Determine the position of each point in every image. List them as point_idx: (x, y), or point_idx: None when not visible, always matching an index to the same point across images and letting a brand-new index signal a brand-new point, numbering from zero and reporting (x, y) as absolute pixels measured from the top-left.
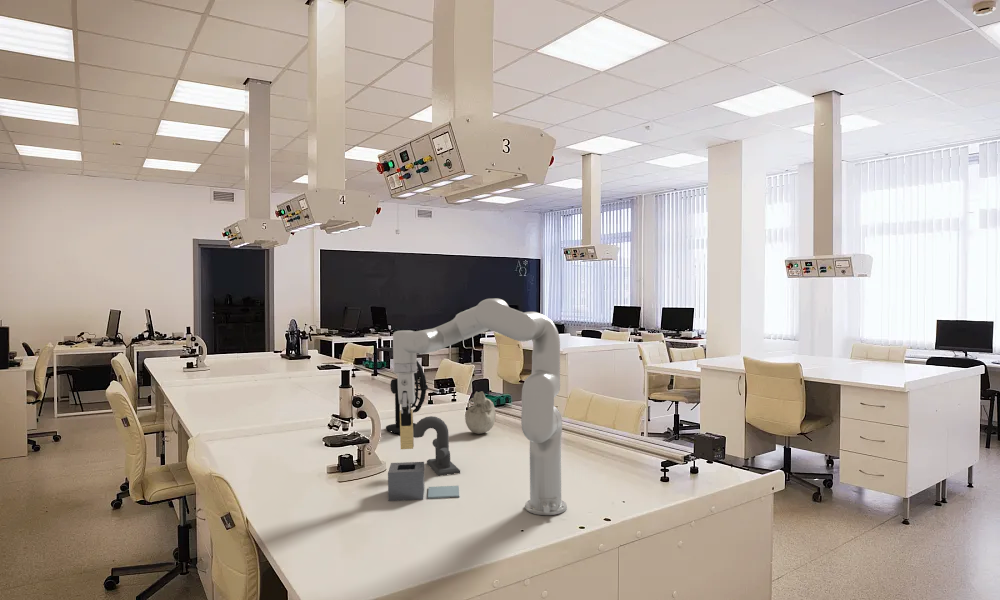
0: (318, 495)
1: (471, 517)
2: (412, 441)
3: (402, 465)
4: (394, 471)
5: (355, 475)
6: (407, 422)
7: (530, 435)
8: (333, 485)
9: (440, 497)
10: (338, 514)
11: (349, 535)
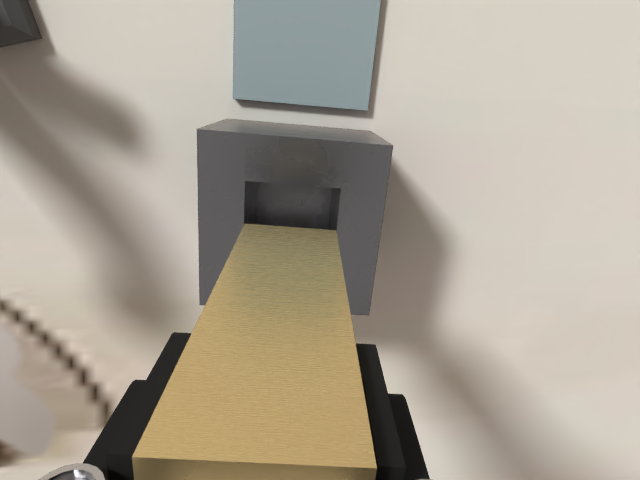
0: None
1: None
2: (338, 253)
3: None
4: (355, 287)
5: (36, 381)
6: (404, 406)
7: None
8: None
9: (374, 52)
10: (436, 396)
11: (612, 356)
